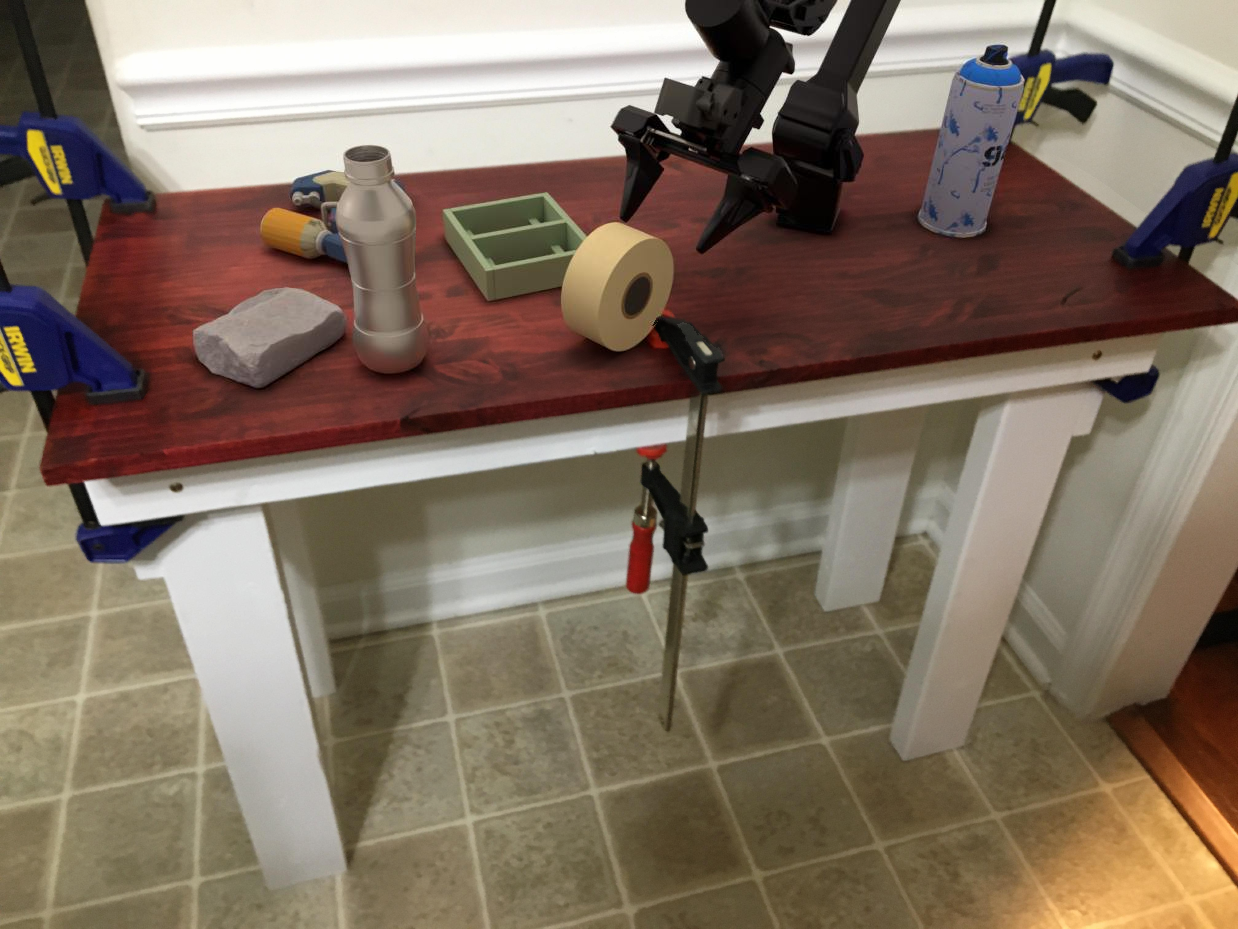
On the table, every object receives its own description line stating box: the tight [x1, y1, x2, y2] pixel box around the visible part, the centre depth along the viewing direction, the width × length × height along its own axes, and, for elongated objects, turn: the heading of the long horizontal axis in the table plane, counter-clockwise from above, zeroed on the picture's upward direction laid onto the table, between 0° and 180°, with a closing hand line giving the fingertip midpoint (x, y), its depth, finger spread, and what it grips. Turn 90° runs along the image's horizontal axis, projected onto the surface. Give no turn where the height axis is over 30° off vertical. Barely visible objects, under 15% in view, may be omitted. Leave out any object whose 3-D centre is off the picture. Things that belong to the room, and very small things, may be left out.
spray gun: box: [259, 169, 407, 265], centre depth 111 cm, size 21×4×15 cm
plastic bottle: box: [335, 144, 430, 375], centre depth 87 cm, size 6×7×20 cm
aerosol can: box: [917, 44, 1025, 239], centre depth 112 cm, size 8×8×20 cm
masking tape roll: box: [560, 221, 675, 352], centre depth 94 cm, size 11×5×11 cm, turn 140°
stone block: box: [192, 286, 348, 389], centre depth 93 cm, size 12×5×10 cm
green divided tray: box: [442, 191, 588, 302], centre depth 108 cm, size 12×14×4 cm
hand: (659, 235), depth 96 cm, fingers open, 9 cm apart
